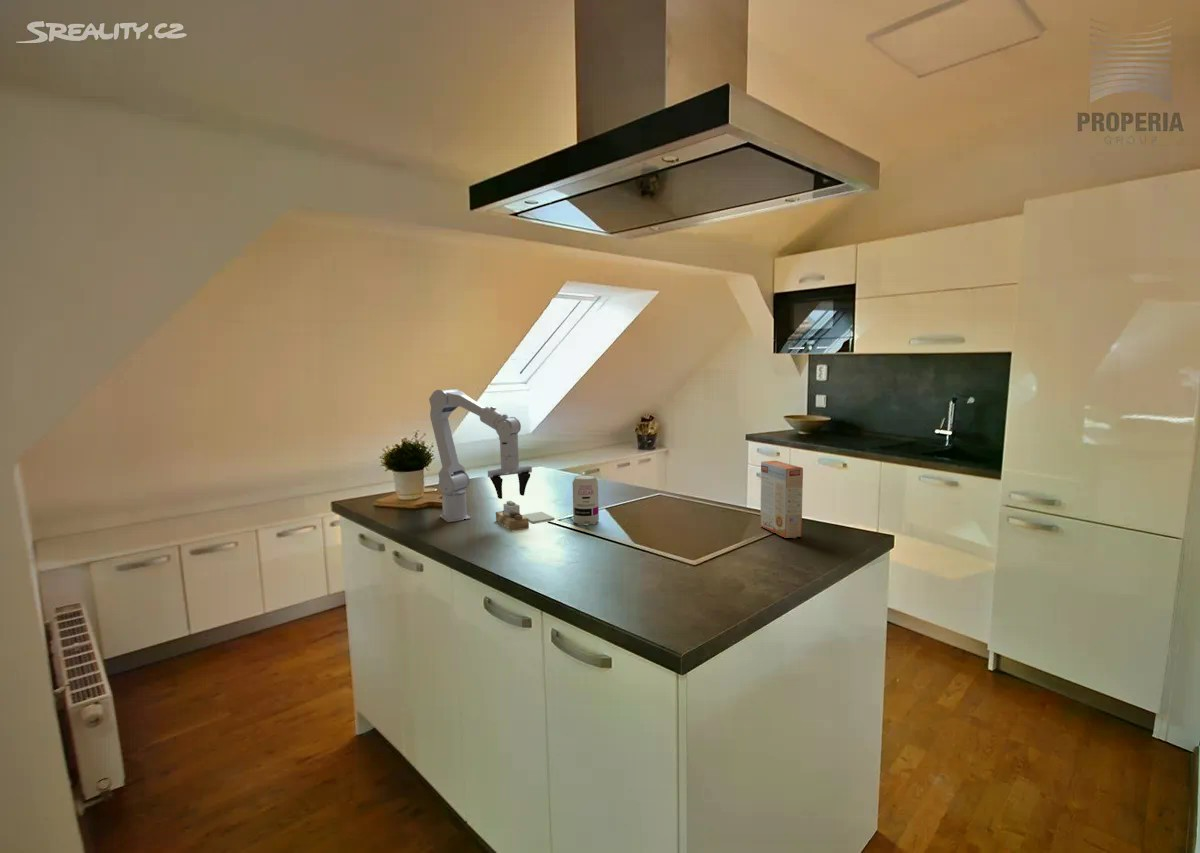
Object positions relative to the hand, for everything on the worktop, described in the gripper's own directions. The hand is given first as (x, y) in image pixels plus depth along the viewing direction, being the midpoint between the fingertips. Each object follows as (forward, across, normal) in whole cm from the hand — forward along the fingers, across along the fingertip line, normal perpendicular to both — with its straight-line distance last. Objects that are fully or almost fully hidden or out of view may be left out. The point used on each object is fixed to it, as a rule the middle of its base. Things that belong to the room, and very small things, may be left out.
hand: (511, 496), depth 187 cm
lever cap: (+6, 0, 0) cm, 6 cm away
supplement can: (+10, +21, -12) cm, 26 cm away
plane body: (+9, 0, 0) cm, 9 cm away
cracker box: (+10, +63, -56) cm, 85 cm away
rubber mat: (+9, +10, +2) cm, 14 cm away
